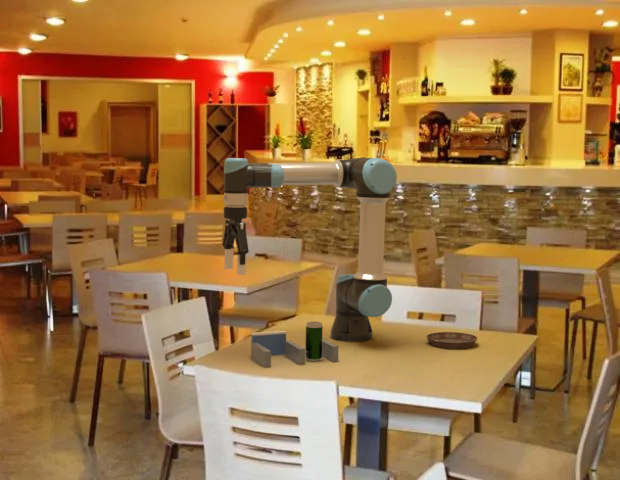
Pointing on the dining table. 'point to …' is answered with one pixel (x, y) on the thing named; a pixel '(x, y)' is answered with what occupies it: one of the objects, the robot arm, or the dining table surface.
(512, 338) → the dining table surface
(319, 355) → the beer can
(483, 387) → the dining table surface
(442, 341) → the plant saucer
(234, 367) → the dining table surface
